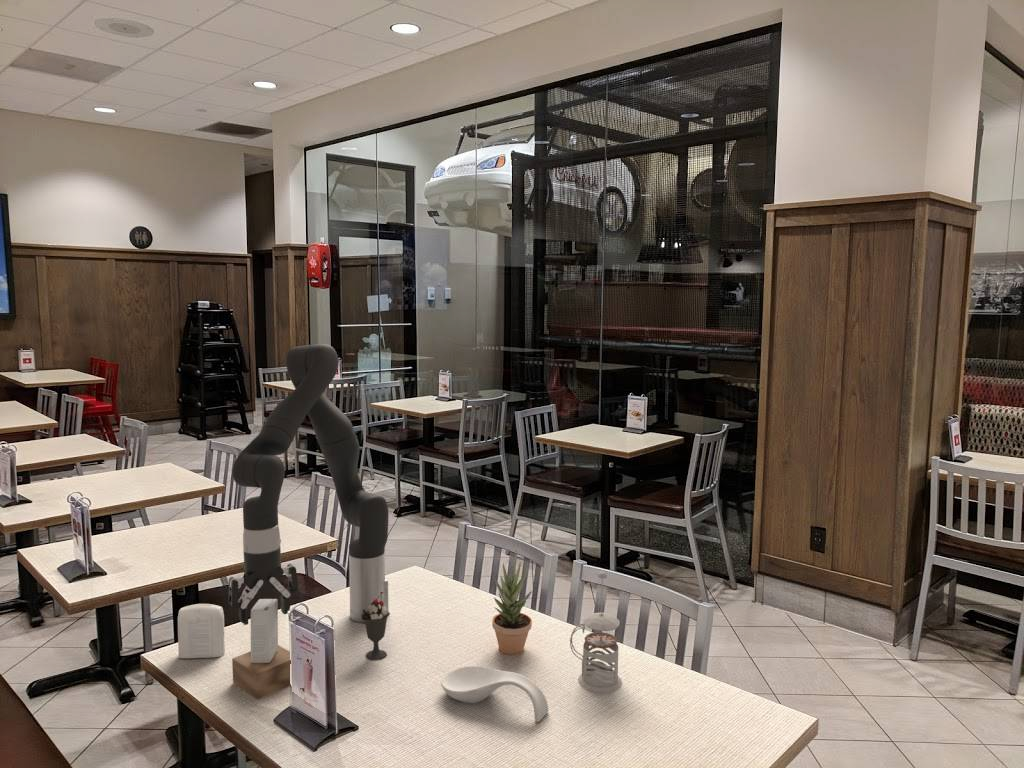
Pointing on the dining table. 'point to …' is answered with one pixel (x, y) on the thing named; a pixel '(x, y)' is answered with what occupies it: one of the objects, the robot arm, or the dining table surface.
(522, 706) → the dining table surface
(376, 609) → the sundae
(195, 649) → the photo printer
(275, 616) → the skincare box
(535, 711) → the spoon rest
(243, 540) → the robot arm
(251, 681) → the walnut block
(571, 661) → the dining table surface
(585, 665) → the french press
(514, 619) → the potted plant
